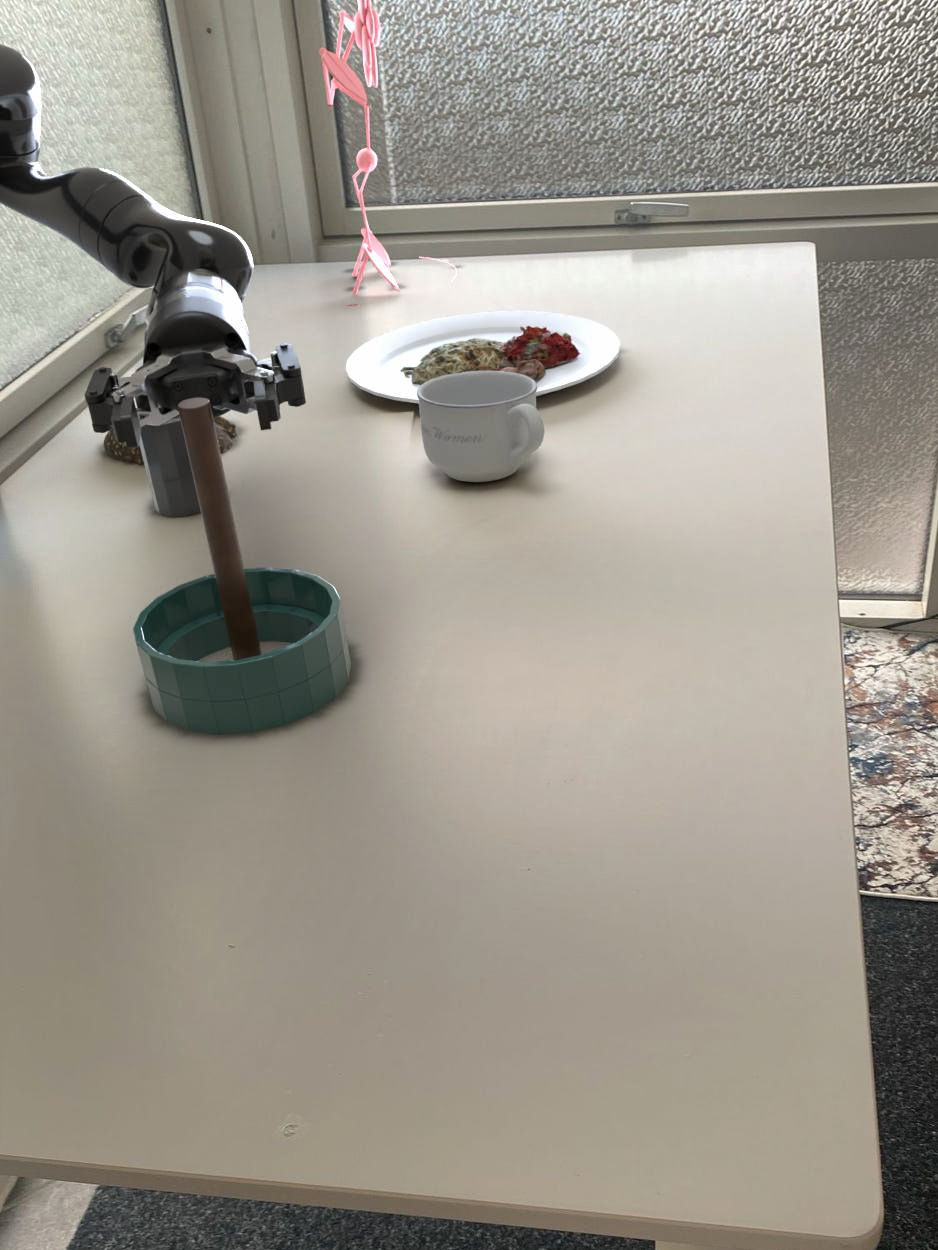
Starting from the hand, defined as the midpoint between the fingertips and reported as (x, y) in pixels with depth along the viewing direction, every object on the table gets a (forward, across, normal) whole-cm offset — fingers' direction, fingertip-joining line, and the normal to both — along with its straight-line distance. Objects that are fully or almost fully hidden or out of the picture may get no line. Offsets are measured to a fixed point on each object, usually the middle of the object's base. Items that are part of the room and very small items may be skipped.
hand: (196, 424), depth 85 cm
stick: (+1, 0, -18) cm, 18 cm away
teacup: (-32, -23, -19) cm, 44 cm away
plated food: (-62, -27, -19) cm, 70 cm away
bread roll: (-50, +6, -19) cm, 54 cm away
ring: (+1, 0, -19) cm, 19 cm away
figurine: (-102, -23, -19) cm, 106 cm away
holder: (-34, +5, -19) cm, 39 cm away
